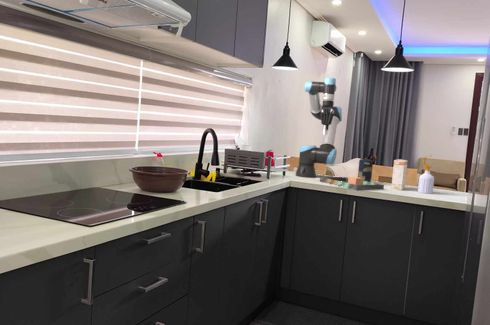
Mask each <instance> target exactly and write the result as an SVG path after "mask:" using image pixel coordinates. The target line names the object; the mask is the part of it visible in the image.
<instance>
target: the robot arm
mask: <svg viewBox="0 0 490 325" xmlns="http://www.w3.org/2000/svg"><path fill="white" fill-rule="evenodd" d="M336 83H337V79H336V78H335V77H325V78H324V81H312V80H310V81H306V82H304V91H305V92H307V93H308V96H309V104H310V106H309V111H310V113H311V115H312V117H314V118H315V119H316V120H318V121H319V120H320V122H321V125H322V130H323V131H322V135H323V138H322V143H321V144H320V145H319V147H317V145H302V146H300V149H299V156H298V157H299V158H298V166H297V168H296V171H295V176H297V177H300V178H301V177H302V178H316V177H317V174H316V169H315V168H316V167H315V164H323V165H333V164H335V161H336V158H337V154H338V150H337V149H336V146H335V139H336V132H337V126H338V125H339V124H340V122H342V113H343V112H342V110H343V108H342V107H341V106H335V105H334V103H335V92H336V91H337V85H336ZM320 93H323V96H322V100H323V101H322V104H321V99H320Z"/></svg>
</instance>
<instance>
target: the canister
mask: <svg viewBox="0 0 490 325" xmlns="http://www.w3.org/2000/svg"><path fill="white" fill-rule="evenodd" d="M358 162H359V163H358V172H357V177H359V178H364V181H367V182H372V176H373V165H374V164H373V163H374V161H373V159H369V158H367V157H365V158H359V160H358Z"/></svg>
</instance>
